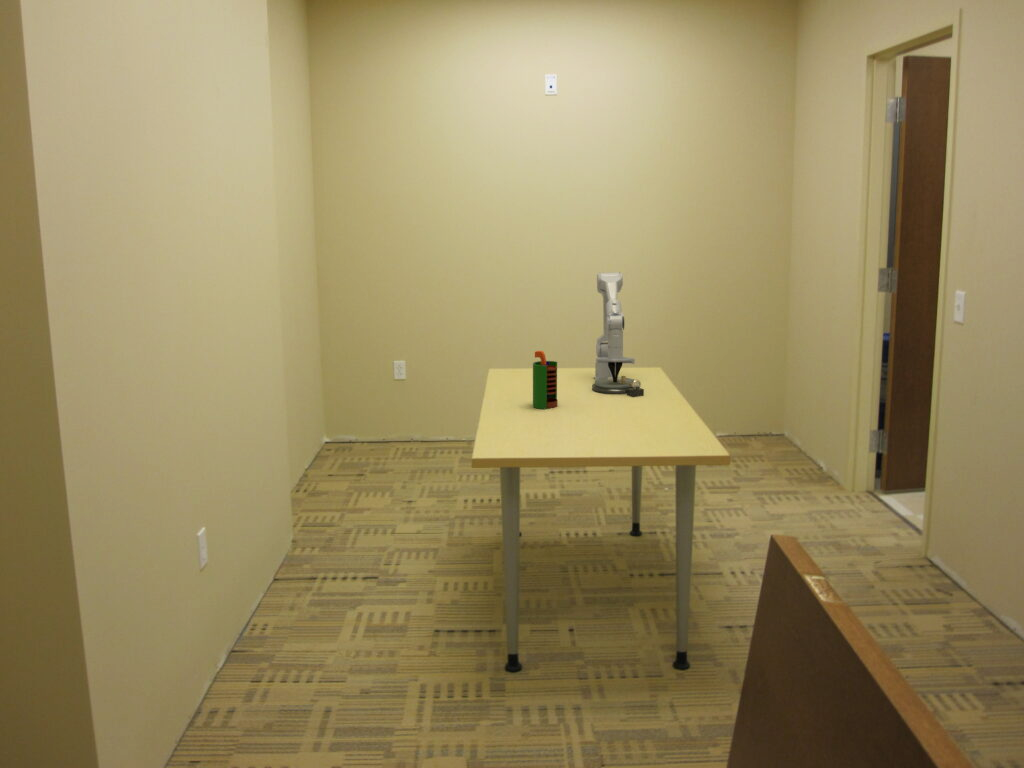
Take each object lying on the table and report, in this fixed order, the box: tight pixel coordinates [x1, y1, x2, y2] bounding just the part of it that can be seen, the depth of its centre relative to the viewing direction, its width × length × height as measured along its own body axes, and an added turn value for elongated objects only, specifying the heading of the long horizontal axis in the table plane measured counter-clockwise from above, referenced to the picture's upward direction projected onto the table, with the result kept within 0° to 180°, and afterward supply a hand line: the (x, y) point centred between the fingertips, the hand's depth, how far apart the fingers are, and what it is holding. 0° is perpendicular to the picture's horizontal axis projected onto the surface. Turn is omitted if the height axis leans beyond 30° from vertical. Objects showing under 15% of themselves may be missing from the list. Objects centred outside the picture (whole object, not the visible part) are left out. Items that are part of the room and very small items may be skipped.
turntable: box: [594, 375, 635, 389], centre depth 348 cm, size 16×16×4 cm
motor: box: [532, 350, 559, 410], centre depth 322 cm, size 10×9×20 cm
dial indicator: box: [626, 379, 645, 398], centre depth 338 cm, size 5×5×6 cm
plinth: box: [591, 382, 629, 395], centre depth 349 cm, size 18×18×2 cm
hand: (615, 381), depth 343 cm, fingers closed
